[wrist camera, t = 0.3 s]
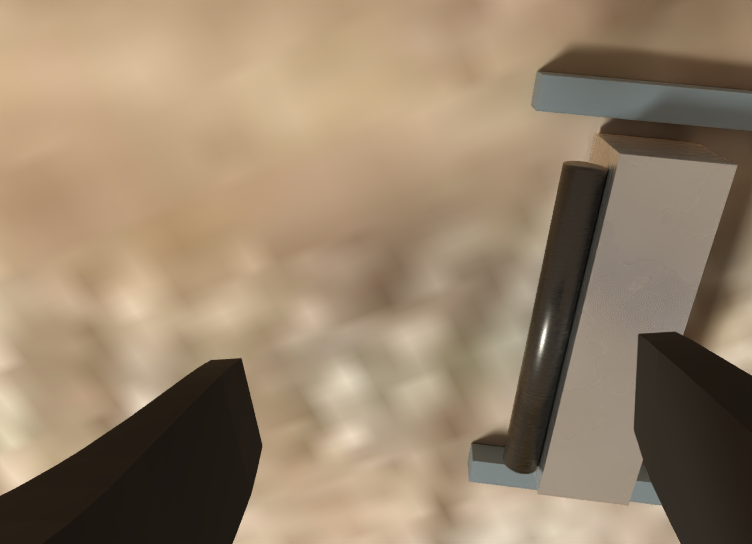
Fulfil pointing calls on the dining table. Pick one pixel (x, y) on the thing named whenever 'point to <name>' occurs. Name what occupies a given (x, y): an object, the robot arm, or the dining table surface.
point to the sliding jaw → (609, 306)
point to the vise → (633, 104)
